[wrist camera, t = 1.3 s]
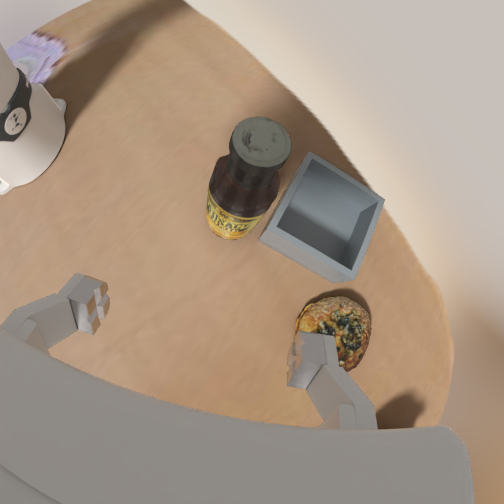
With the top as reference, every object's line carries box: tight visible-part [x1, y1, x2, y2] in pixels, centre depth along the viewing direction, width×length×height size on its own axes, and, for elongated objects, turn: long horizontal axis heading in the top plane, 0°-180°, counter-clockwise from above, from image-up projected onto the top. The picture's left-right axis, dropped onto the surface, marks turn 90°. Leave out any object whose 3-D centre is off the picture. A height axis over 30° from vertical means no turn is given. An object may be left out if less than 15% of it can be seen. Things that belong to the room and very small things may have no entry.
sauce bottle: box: [206, 117, 291, 240], centre depth 27 cm, size 7×6×20 cm
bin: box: [258, 151, 385, 283], centre depth 36 cm, size 12×12×6 cm
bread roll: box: [294, 296, 372, 372], centre depth 35 cm, size 11×11×5 cm
